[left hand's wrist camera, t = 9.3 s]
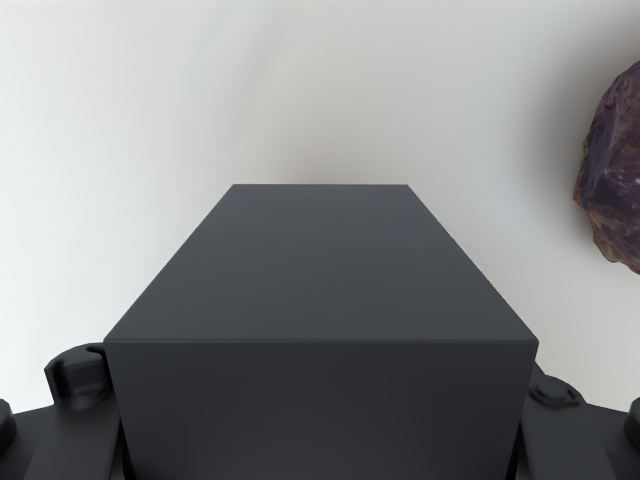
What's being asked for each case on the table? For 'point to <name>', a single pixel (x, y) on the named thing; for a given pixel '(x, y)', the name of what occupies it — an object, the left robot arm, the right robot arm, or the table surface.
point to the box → (320, 346)
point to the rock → (614, 171)
